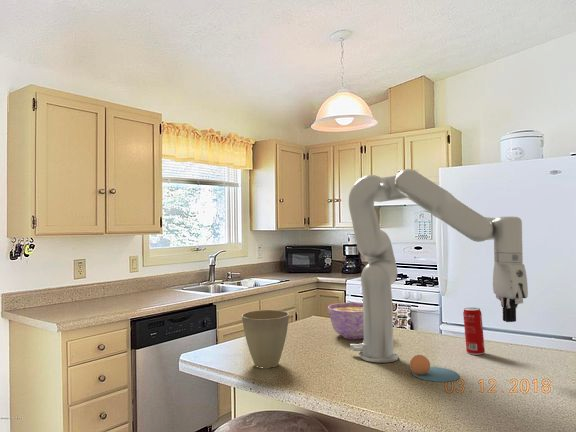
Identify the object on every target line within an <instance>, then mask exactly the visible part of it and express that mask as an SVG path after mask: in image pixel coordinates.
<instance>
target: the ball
mask: <svg viewBox="0 0 576 432" xmlns="http://www.w3.org/2000/svg"><path fill="white" fill-rule="evenodd" d="M410 359H411V360H410V362H409V365H410V366H409V367H410V370H411V372H412V371H413V372H414V373H415V374H417V375H425V374H426V373H428V371H429V369H430V367H431V363H430V360H429V359H428V357H426V356H424V355H422V354H416V355H414V356H413V357H412V358H410Z"/></svg>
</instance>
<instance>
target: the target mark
mask: <svg viewBox="0 0 576 432" xmlns="http://www.w3.org/2000/svg"><path fill="white" fill-rule="evenodd" d="M411 372H412V375H413V376H414V377H416V378H417V379H421V380H424V381H428V382H435V383H448V382H455V381H458V379H459V378H460V374H459V373H458V372H456V371H455V370H452V369H449V368H445V367H439V366H430V369H429V371H428V373H426V374H425V375H417V374H415V373H414V372H413V371H412V370H411Z"/></svg>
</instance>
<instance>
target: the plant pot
mask: <svg viewBox="0 0 576 432" xmlns="http://www.w3.org/2000/svg"><path fill="white" fill-rule="evenodd" d="M289 318H290V313H289V312H288V311H284V310H278V309H260V310H251V311H247V312H244V313H242V314H241V319H242V326H243V332H244V337H245V340H246V344H247V348H248V350H249V353H250V356H251V359H252V361H253V364H254V366H255V367H256V366H258V367H263V368H262V369H270V368H269V367H273V368H275V366H276V367H277V366H279V363H280V360H281V357H282V354H283V350H284V348H285V342H286V338H287V333H288V332H287V331H288V326H289V320H290V319H289ZM258 367H257V368H258Z"/></svg>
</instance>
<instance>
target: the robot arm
mask: <svg viewBox="0 0 576 432" xmlns="http://www.w3.org/2000/svg"><path fill="white" fill-rule="evenodd" d="M401 199H402V200H403V199H409V200H410V201H411V202H413V203H414V204H416V205H418V206H419V207H420V208H422V209H424V210H425V211H426V212H428V213H429V214H431V215H432V216H434V217H435V218H437V219H439V220H441V221H442V222H444V223H445V224H447V225H448V226H450V227H451V228H453V229H454V230H455V231H457V232H458V233H460V234H462V235H463V236H464V237H466V238H467V239H469V240H471V241H473V242H476V243H477V242H478V243H481V242H485V241H490V240H491V241H493V252H494V253H493V256H494V257H493V259H494V260H493V263H494V264H493V271H492V291H493V294H494V295H495V298H496V299H498V300H499V301H500V306H501V308H502V321H503V322H506V323H515V322H517V309H518V305H522V304H524V299H527V298H528V297H529V296H528V295H529V291H528V277H527V271H526V267H525V264H524V261H523V259H524V258H523V257H524V256H523V254H524V253H523V221H522V219H521V218H520V217H518V216H499V217H498V216H497V217H489V216H488V217H487V216H485V215H484V216H483V215H482V214H480V213H479V212H477V211H475V210H474V209H472V208H470V207H469V206H467V205H466V204H464V203H462V201H460V200H458V199H457V198H456V197H455V196H454V195H453V193H451V192H449V191H448V190H447V189H444V187H442V186H440V185H438V184H436V183H435V182H434V181H432V180H430V179H429V178H427V177H426V176H424V175H422V174H421V173H419V172H417V171H416V170H414V169H411V168H406V169H403V170H400V171H399V172H398V173H397V174H395V175H390V176H389V175H388V176H384V177H381V176H378V175H375V174H367V175H364V176H363V177H361V178H359V179H358V180H357V181H356V182H355V183H354V184H353V185H352V188H351V189H350V192H349V195H348V208H349V213H350V218H351V223H352V228H353V233H354V238H355V242H356V247H357V250H358V253H360V255H361V256H363V257H364V258H365V257H366V259H367V264H366V265H365V266H364V267H363V269H362V271H361V276H360V284H361V291H362V303H363V329H364V338H363V340H362V343H361V342H360V343H358V344H357V343H350V344H349V349H350V350H353V352H359V353H358V356H359V358H360V359H361V360H363V361H366V362H371V363H377V364H378V363H379V364H381V363H392V362H395V361H397V360H398V359H399V354H398V353H397V352H396V351H394V317H393V315H394V313H393V312H394V311H393V294H392V285H393V284H394V283H395V282H396V280H397V278H398V267H397V263H396V262H397V261H396V257H395V254H394V249H393V245H392V241H391V238H390V237H389V235H388V233H387V232H385V231H384V230H382V229H381V227H380V225H379V224H380V223H379V218H378V215H377V212H376V209H375V203H376V202H377V203H382V202H388V201H389V202H390V201H395V200H401Z"/></svg>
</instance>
